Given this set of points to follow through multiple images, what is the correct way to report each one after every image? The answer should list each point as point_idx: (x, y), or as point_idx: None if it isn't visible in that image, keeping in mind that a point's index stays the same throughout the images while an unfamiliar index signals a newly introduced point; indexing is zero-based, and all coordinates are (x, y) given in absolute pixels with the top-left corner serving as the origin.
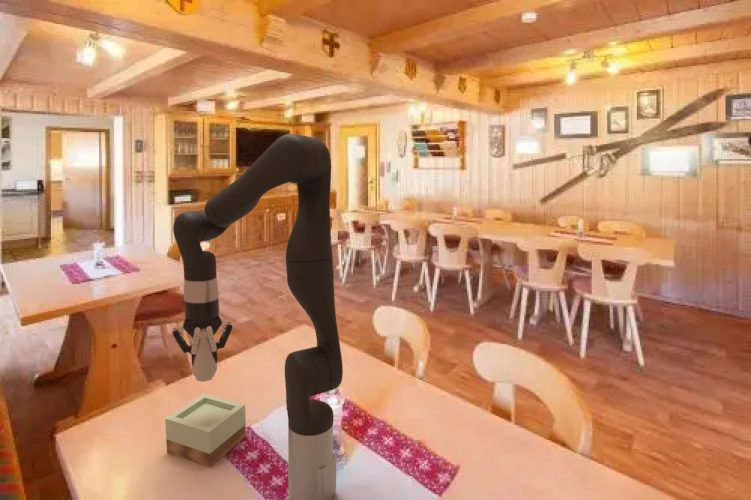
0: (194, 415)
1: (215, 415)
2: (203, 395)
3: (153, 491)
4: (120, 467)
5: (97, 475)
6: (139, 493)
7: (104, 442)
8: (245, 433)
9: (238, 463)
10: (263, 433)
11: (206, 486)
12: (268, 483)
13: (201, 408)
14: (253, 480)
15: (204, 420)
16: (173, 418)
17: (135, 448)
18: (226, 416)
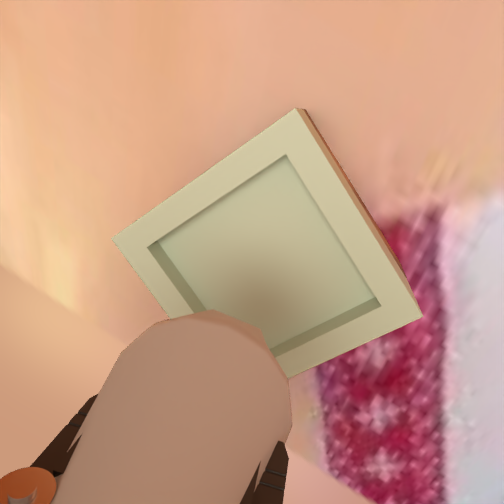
0: (225, 231)
1: (297, 276)
2: (285, 130)
3: (126, 338)
4: (57, 207)
5: (11, 210)
6: (99, 327)
7: (6, 48)
8: (400, 264)
9: (326, 362)
10: (459, 276)
11: None
12: (360, 462)
13: (262, 193)
14: (334, 434)
15: (251, 285)
16: (138, 256)
17: (89, 136)
18: (318, 353)
